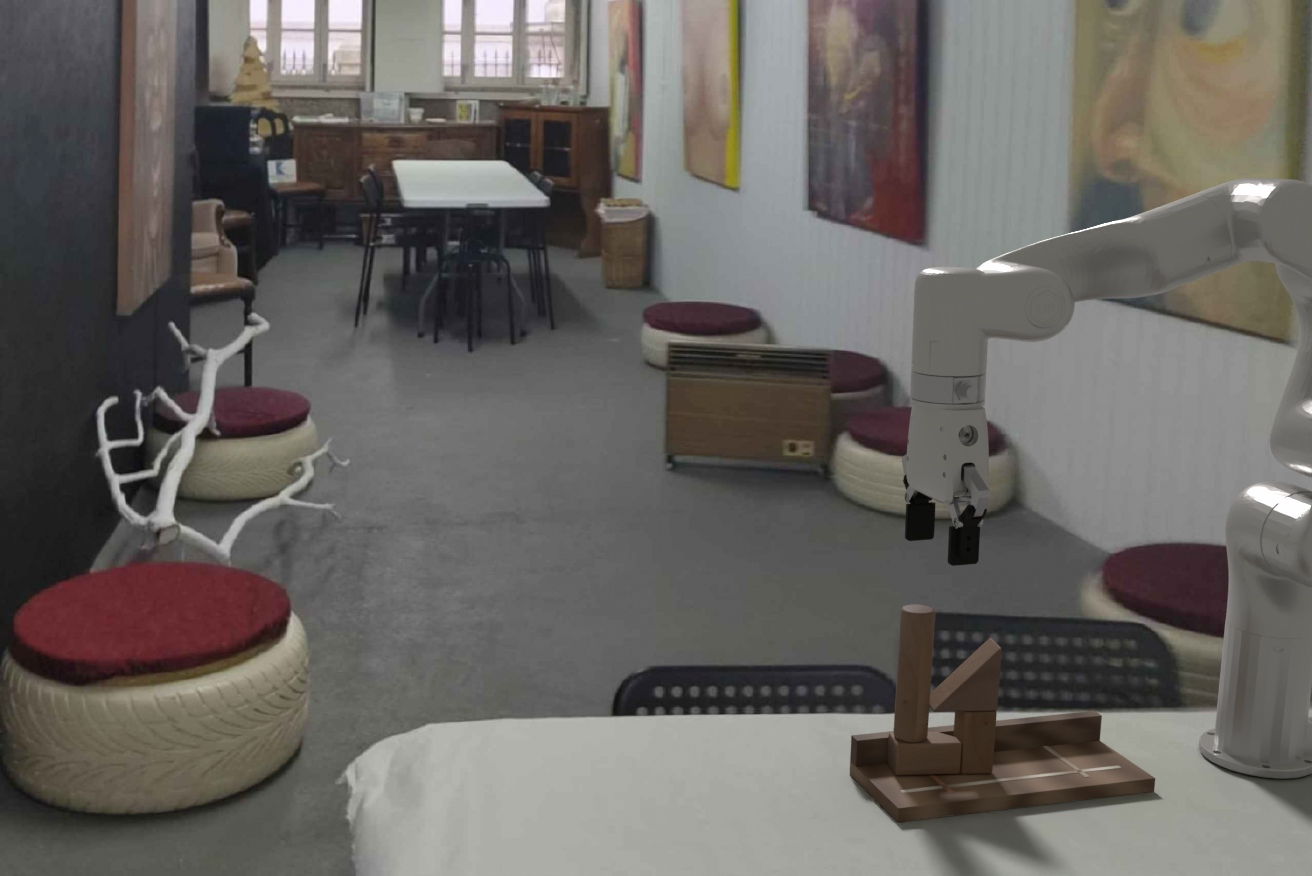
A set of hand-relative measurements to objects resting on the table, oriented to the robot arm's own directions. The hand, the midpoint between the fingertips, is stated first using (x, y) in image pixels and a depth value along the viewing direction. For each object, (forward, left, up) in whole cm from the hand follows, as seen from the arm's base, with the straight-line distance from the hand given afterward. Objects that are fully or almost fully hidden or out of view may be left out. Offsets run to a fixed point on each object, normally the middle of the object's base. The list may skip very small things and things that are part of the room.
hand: (940, 551), depth 155 cm
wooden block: (-1, 0, -24) cm, 24 cm away
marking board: (-8, +2, -26) cm, 27 cm away
